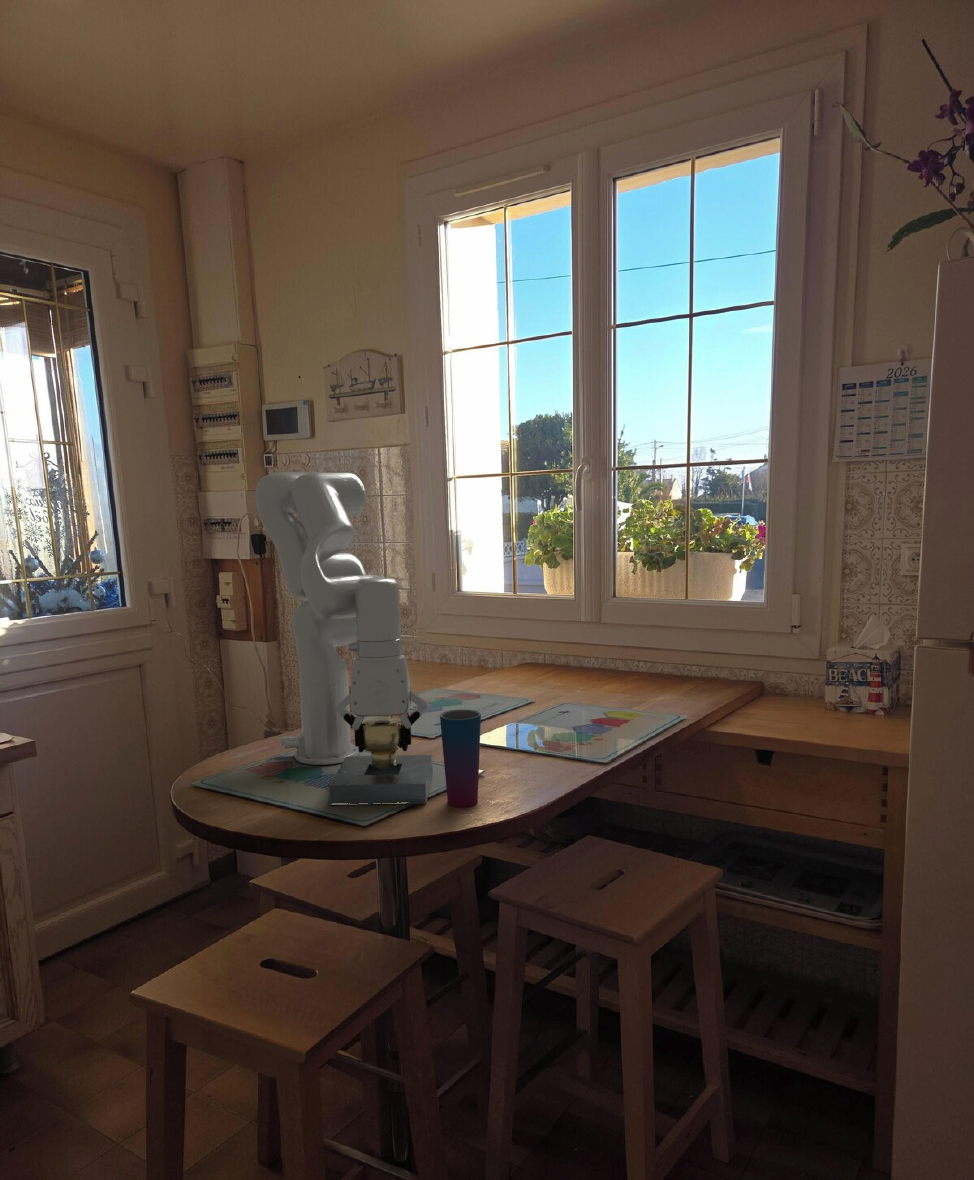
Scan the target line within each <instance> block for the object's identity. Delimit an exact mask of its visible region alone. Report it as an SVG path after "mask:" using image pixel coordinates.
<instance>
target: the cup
mask: <svg viewBox="0 0 974 1180" xmlns="http://www.w3.org/2000/svg"><path fill="white" fill-rule="evenodd" d="M439 721H440V731H441V741H442V742H441V744H442V755H443V767H444V777H445V786H446V797H447V798H446V799H447V804H448V805H449V806H451V807H453V808H459V809H460V808H462V809H463V808H470V807H473V806H475V805H477V804H478V803H479V780H480V779H479V776H480V775H479V774H480V752H481V751H480V750H481V727H482V726H481V723H482V713H481V712H480V711H478V710H475V709H469V708H468V709H467V708H466V709H465V708H463V709H461V708H460V709H458V708H457V709H450V710H446V711H443V712H440V713H439Z"/></svg>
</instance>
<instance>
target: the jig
mask: <svg viewBox="0 0 974 1180" xmlns="http://www.w3.org/2000/svg"><path fill="white" fill-rule="evenodd" d="M433 770H434V769H433V755H432V754H412V755H411V754H410V755H409V754H406V755H405V754H404V755H401V754H400V755H397V765H396V766H394V767H391V768H382V769H381V768H374V767H372V760H371V755H363V756H362V755H361V756H360V755H358V756H350V757H346V758H345V759H344V761H343V762H341V765H340V766H339V768H338V770H337V772H336V773H335V775H334V777H333V778H332V780H331V781H330V784H329V785H328V787H329V789H328V790H329V792H328V793H329V804H330V803H331V804H332V803H348V804H349V803H350V804H359V803H368V804H373V803H381V804H382V803H397V802H399V803H401V802H409V803H411V804H410V805H426V804H427V801H428V796H429V792H430V788H431V787H430V786H431V782H432V778H433V774H432V773H433ZM429 787H430V788H429ZM428 791H429V792H428Z"/></svg>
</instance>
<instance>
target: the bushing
mask: <svg viewBox="0 0 974 1180" xmlns="http://www.w3.org/2000/svg"><path fill="white" fill-rule="evenodd" d="M402 728H403V723H402V721H401V719H400V718H396V717H395V718H394V717H380V718H379V717H378V718H372V719H368V720H366V721H362V730H363V749H364V751H366V752H369V753H370V756H371V760H372V767H374V768H381V769H382V768H391V767H394V766H396V765H397V751H399V750H401V749H402Z"/></svg>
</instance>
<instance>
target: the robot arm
mask: <svg viewBox="0 0 974 1180" xmlns="http://www.w3.org/2000/svg"><path fill="white" fill-rule="evenodd" d="M256 484H257V485H256V487H255V506H256V510H257V513H258V517H259V519H260V521H261V524H262V526H263V527H264V530H265V532H266V533H267V534H268V537H269V538H270V540H271V541H272V543H273V545H274V546H275V550H276V552H277V557H278V559H279V563H280V565H281V569H282V573H283V576H284V579H285V582H286V585H287V588H288V590H289V593H290V594H291V596H292V597H293V598H294V599H296V600H298V601H305V602H303V603H301V604H299V605H298V606H297V607H296V608H295V609H294V610H293V613H292V617H291V626H292V627H291V628H292V632H293V638H294V643H295V647H296V653H297V660H298V661H297V662H298V674H299V698H300V713H301V715H300V716H301V718H300V720H301V734H297V735H296V736H291V735H289V736H281V740H280V741H281V746H282V747H284V749H294V748H295V749H296V751H295V753H294V759H295V760H296V761H297V762H299V763H301V764H305V765H310V766H313V765H315V766H323V765H334V764H340V763H341V764H342V763H343V761H344V759H345V758H346V757H350V756H359V754H360V753H363V752H364V751H365V750H364V749H363V730H362V723H363V722H364V719H365V717H391V716H392V717H395V716H398V719H400V720H401V721H402V723H403V728H402V748H401V749H402V751H403V752H407V751H408V748H409V746H410V745H412V726H413V725H414V724H415V723H416V722H417V721H418V720H419V718H420V717H421V716H422V715H423V713H424V712H425V710H426V709H428V706H429V703H428V701H426V700H425V699H424V698H422V697H421V696H420V695H418V694H417V693H416V692H415V691H414V690H412V689H411V682H410V681H411V680H410V673H409V667H408V662H407V657H406V655H404V654H402V637H401V634H402V633H401V632H402V631H401V612H400V587H399V584H398V581H397V580H396V579H394V578H392V577H381V576H380V575H378V574H367V573H366V571H365V569H364V568H365V567H364V565H363V564H362V562H361V560H360V559H359V558H358V557H357V556H355V555H354V554H352V553H349V552H342V551H344V550H345V549H347V547H348V546H350V544H352V541H353V539H354V536H355V529H354V526H353V524H352V522H351V520H350V518H349V516H350V515H351V516H352V515H358V514H360V513H361V512H363V510H364V508H365V506H366V502H367V492H366V489H365V485H364V484H363V482H362V480H361V479H360V478H359V477H358V476H357V475H356V474H354V473H352V472H327V471H326V472H322V471H321V472H319V471H318V472H315V471H314V472H312V471H311V472H308V471H306V472H305V471H304V472H302V471H301V472H300V471H284V472H283V471H282V472H274V473H273V472H272V473H269V474H266V475H264V476H263V477H261V478H260V480H258V482H257V483H256ZM295 514H298V516H299V518H298V517H297V516H296V515H295ZM342 646H348V650H349V652H354V653H356V656H355V657H354V658H352V659H353V661H352V665H351V674H350V676H351V677H350V683H349V670H348V666H347V663H346V662H345V660H344V659H343V657H341V656H340V654H339V653H338V652H337V650H336V647H342ZM349 684H350V685H349ZM349 686H350V689H349ZM349 690H350V691H349ZM412 703H414V704H415V705H416V706H417V707H416V709H415V710H414V711H413V712H412V713H411V714H410V713H409V711H410V709H411V705H412ZM350 711H351V712H350ZM351 728H352V730H353V731H354V743H352V739H351Z"/></svg>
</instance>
